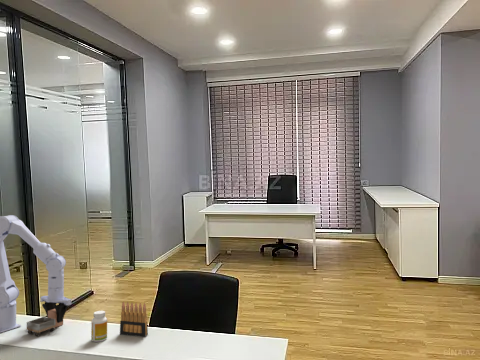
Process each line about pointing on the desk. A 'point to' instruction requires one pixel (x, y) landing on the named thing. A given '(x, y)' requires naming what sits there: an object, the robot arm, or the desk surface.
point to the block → (54, 317)
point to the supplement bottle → (99, 327)
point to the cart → (40, 325)
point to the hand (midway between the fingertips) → (55, 321)
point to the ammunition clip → (133, 321)
